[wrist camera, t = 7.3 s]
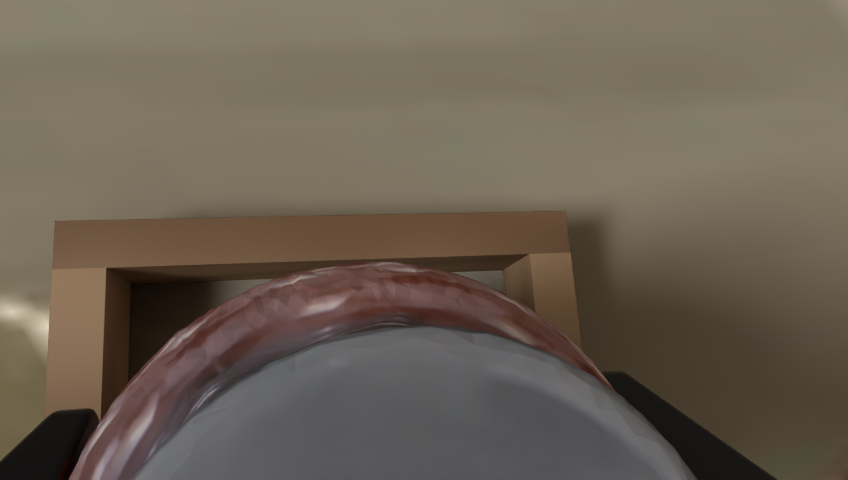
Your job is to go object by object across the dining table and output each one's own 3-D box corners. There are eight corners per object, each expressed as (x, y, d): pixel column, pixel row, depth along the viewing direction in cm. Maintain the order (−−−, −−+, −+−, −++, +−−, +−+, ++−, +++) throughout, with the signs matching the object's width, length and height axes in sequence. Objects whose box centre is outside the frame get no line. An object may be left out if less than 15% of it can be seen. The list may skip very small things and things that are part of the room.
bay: (579, 628, 15) (619, 661, 13) (65, 705, 13) (24, 758, 11) (536, 231, 17) (565, 211, 15) (86, 242, 15) (55, 220, 13)
